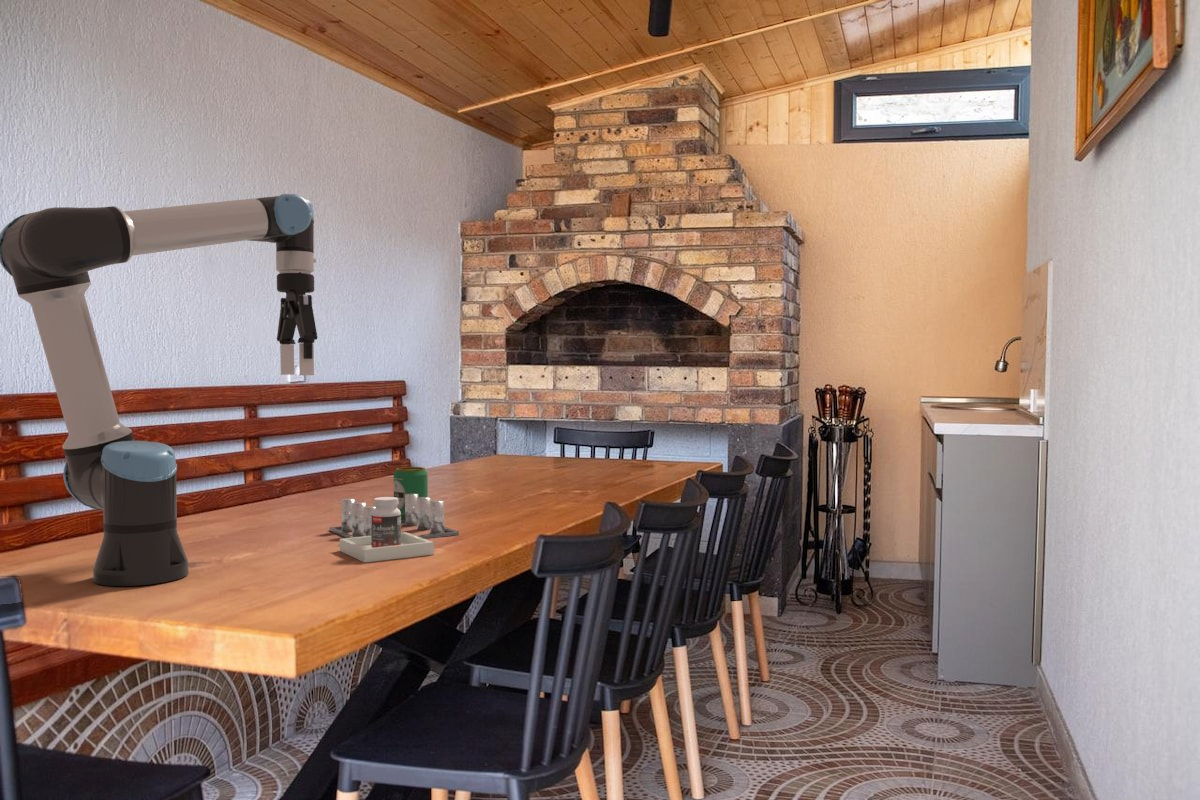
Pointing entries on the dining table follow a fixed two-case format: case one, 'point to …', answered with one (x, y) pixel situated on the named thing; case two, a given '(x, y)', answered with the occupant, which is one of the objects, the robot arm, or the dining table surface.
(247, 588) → the dining table surface
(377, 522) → the pill bottle
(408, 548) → the dish
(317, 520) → the dining table surface
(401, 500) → the beverage can
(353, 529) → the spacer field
